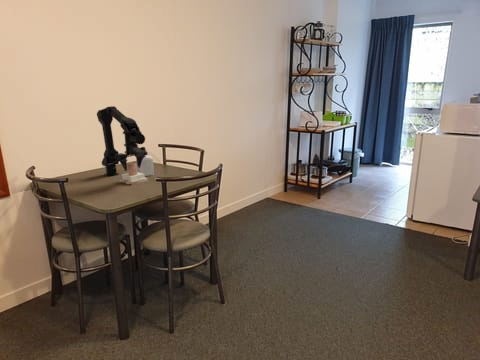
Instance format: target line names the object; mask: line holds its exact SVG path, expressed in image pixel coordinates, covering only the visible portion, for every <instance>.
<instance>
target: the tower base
mask: <svg viewBox="0 0 480 360" xmlns="http://www.w3.org/2000/svg"><path fill="white" fill-rule="evenodd" d="M148 181H149V180H148V177H146V176H145V178H143V179H139V180H135V181H128V180H125V179H122V178H120V179H119V182H120V183H121V182H122V183H123V184H125V183H126V185H129V184H131V185H130V186H134V184H135V185H137V183H138V184H141V183H140V182H142V183H145V182H148ZM122 183H121V184H122Z"/></svg>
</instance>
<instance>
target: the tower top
mask: <svg viewBox="0 0 480 360" xmlns="http://www.w3.org/2000/svg"><path fill="white" fill-rule="evenodd" d="M145 177H146V176H145V175H144V174H143V173H139V172H138V174H137V175H129V172H127V173H124V174H123V173H122V174H121V179H125V180H128V181H135V180H139V179H143V178H145Z"/></svg>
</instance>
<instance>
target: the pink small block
mask: <svg viewBox="0 0 480 360" xmlns="http://www.w3.org/2000/svg"><path fill="white" fill-rule="evenodd" d="M127 171H128V172H127V173H129V175H137V174H138V171H137V163H136V162H131V163H127Z"/></svg>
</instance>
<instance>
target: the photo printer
mask: <svg viewBox="0 0 480 360" xmlns="http://www.w3.org/2000/svg"><path fill="white" fill-rule="evenodd" d="M145 156H146V157H144V158H143V160H142V163H141V166H140V168H138V165H137V171H138V172H139V173H143V174H144V175H145V177H146V176H147V177H148V176H154V175H155V174H154V173H155V172H154V171H155V170H154V169H155V168H154V157H153V156H152V155H145ZM135 160H136V159H135ZM135 163H137V160H136V161H135Z"/></svg>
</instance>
